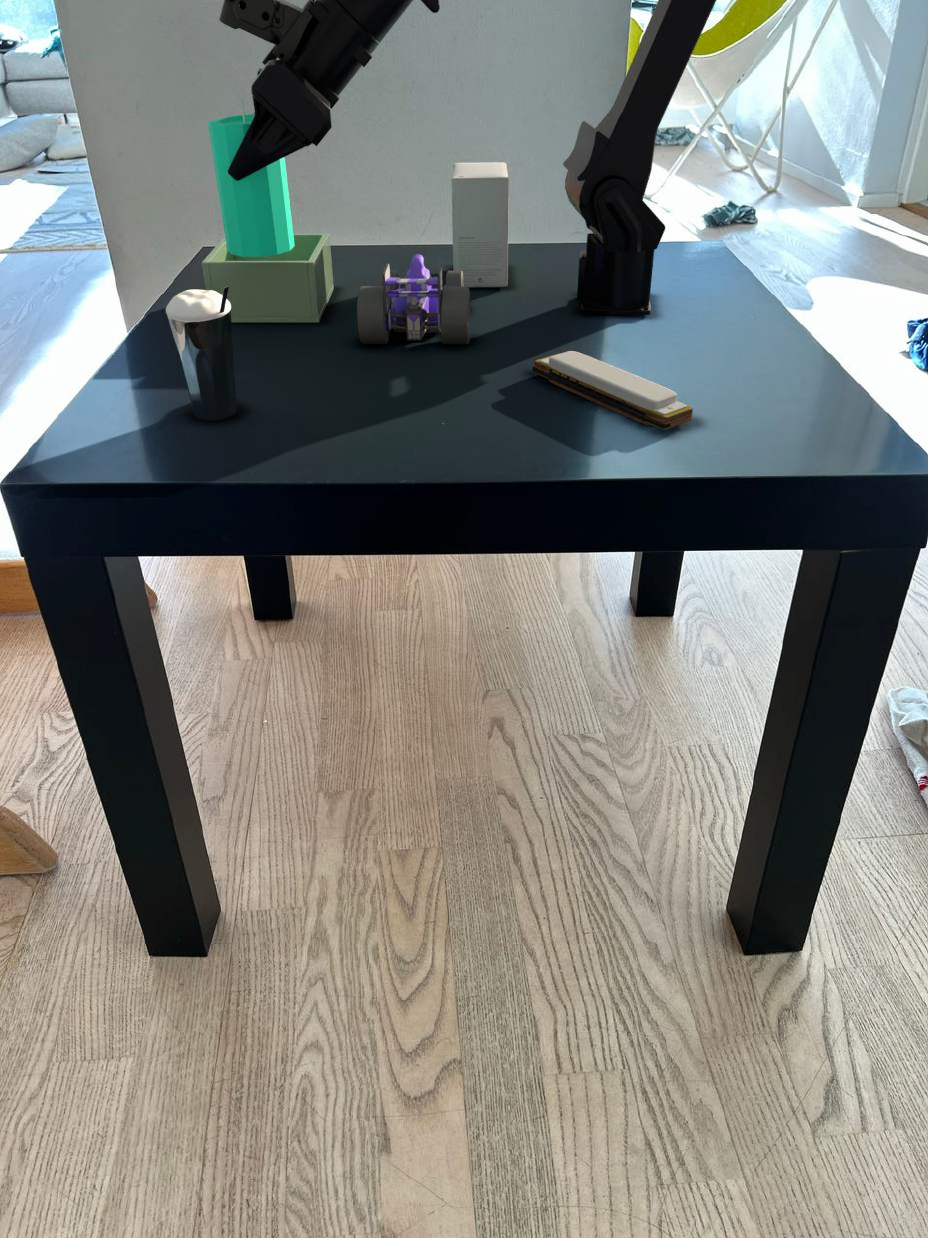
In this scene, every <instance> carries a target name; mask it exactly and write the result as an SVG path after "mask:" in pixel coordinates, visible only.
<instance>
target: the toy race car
mask: <svg viewBox="0 0 928 1238" xmlns="http://www.w3.org/2000/svg"><path fill="white" fill-rule="evenodd" d="M436 275H437V276H434V277H433V276H432V273H430V270H429V269H428V268H427V267H426V266H425V258H424V256H423V255H422V254H420V253H417V254H416V253H415V254H414V255H413V256H412V258H411V261H410V268H408V269H407V271H406V274H405V277H404V278H401V277H400V275H399V271H398V270H391V267H390V263H389V262H388V263H386V264H385V267H384V268H383V270H381V274H380V280H379V281H380V283H379V284H380V285H367V286H366V285H362V286H360V287H359V289H358V293H357V301H356V321H357V330H358V336H359V337H358V338H359V340H360V343H361V344H363V345H387V344H388V343H389V340H390V334H391V330H393V331H394V332H395V333H406V340H407V341H415V342H416V341H419V342H420V341H422V340H423V338H424V336H425V334H426V333H430V334H431V333H433V334H434V333H440V334H441V335H440V337H441V341H442V344H443V345H468V344H469V343H470V338H471V290H470V287H464V279H463V272H462V271H453V270H447V271H446V275H445V285H444V286H443V284H444V282H443V281H444V279H443V277H444V276H443V263H441V262H440V263H439V265H438V269H437V274H436ZM402 285H404V286H402Z"/></svg>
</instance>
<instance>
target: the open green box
mask: <svg viewBox="0 0 928 1238" xmlns="http://www.w3.org/2000/svg"><path fill="white" fill-rule="evenodd" d="M293 236H294V245H295V246H294V247H293V248H292V249H291V250H290V251H288V252H284V253H281V254H278V255H271V256H264V257H242V256H238V255H233V254H230V252H229V251H228V250H227V246H226V239H225V235H224V236H223V238H221V240H220V241H219V242H218V243H217V244H216V245H215V247H214V248H212V250H211V251H210V252H209V254H208V255H207V256H206V257H205V258H204V259H203V260H202V262H201V268H202V275H203V281H204V287H205V290H213V291H215V292H217V293H219V294H221V295H223V291H224V287H227V286H229V289H228V294H227V300H228V301H229V302H230V304H231V319H232V323H269V324H271V323H275V324H276V323H279V324H280V323H285V324H286V323H287V324H289V323H294V324H295V323H297V324H298V323H301V324H302V323H304V324H305V323H306V324H307V323H308V324H309V323H311V324H312V323H313V324H314V323H317V324H318V323H320V321H321V320H322V316H323V314H324V313H325V311H326V308H327V306H328V302H329V301H330V299H331V297H332V294H333V292H334V290H335V288H334V287H335V286H334V274H333V263H332V261H333V260H332V251H331V238H330V233H293Z"/></svg>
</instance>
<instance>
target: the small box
mask: <svg viewBox="0 0 928 1238" xmlns="http://www.w3.org/2000/svg"><path fill="white" fill-rule="evenodd" d="M508 171H509V169H508V166H507V162H500V161H495V162H493V161H492V162H491V161H489V162H487V161H485V162H454V163H453V164H452V176H451V220H452V221H451V222H452V223H451V224H452V225H451V227H452V228H451V229H452V230H451V231H452V268H453V270H452V271H462V272H463V279H464V287H469V288H506V287H508V286H509V285H508V284H509V283H508V282H509V281H508V280H509V210H510V209H509V205H510V204H509V203H510V201H509V199H510V178H509V172H508Z"/></svg>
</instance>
